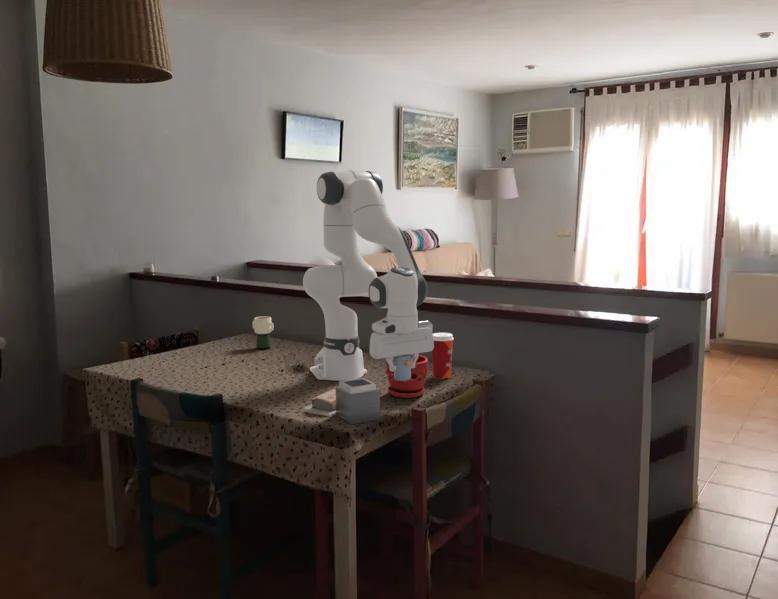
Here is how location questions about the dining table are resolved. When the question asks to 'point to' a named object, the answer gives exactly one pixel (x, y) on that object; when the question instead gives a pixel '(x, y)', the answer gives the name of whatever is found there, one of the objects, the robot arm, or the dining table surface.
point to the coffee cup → (442, 355)
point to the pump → (403, 367)
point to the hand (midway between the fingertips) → (402, 369)
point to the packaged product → (323, 404)
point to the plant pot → (409, 386)
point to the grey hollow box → (357, 401)
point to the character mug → (263, 331)
